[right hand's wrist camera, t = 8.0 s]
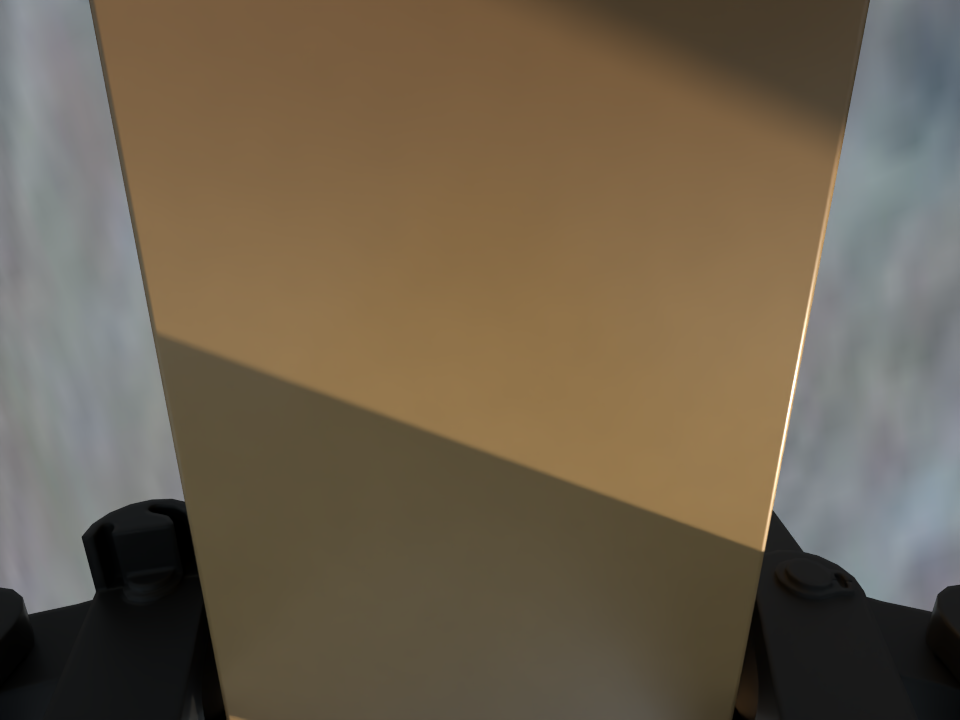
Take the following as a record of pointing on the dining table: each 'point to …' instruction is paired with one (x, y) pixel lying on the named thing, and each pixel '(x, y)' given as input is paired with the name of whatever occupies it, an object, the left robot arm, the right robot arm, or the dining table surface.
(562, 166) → the bar
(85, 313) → the dining table surface
